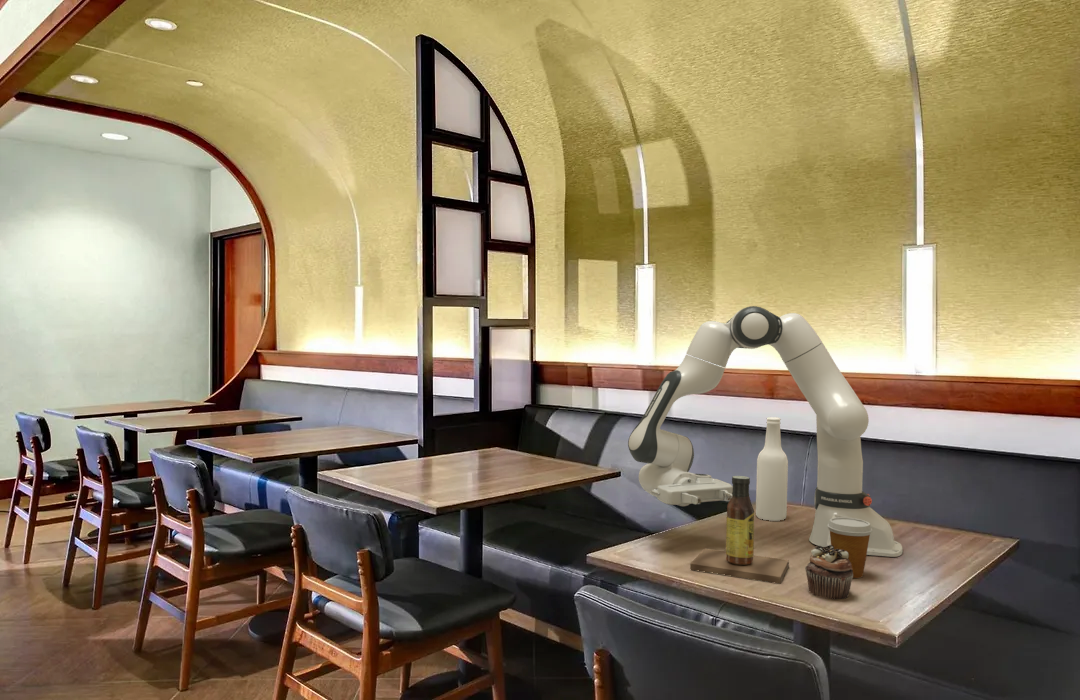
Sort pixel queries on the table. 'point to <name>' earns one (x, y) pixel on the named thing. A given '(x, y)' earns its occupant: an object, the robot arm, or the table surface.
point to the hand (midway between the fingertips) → (714, 499)
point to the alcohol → (772, 475)
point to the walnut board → (741, 566)
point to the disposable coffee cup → (851, 540)
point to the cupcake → (829, 573)
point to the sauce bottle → (740, 524)
